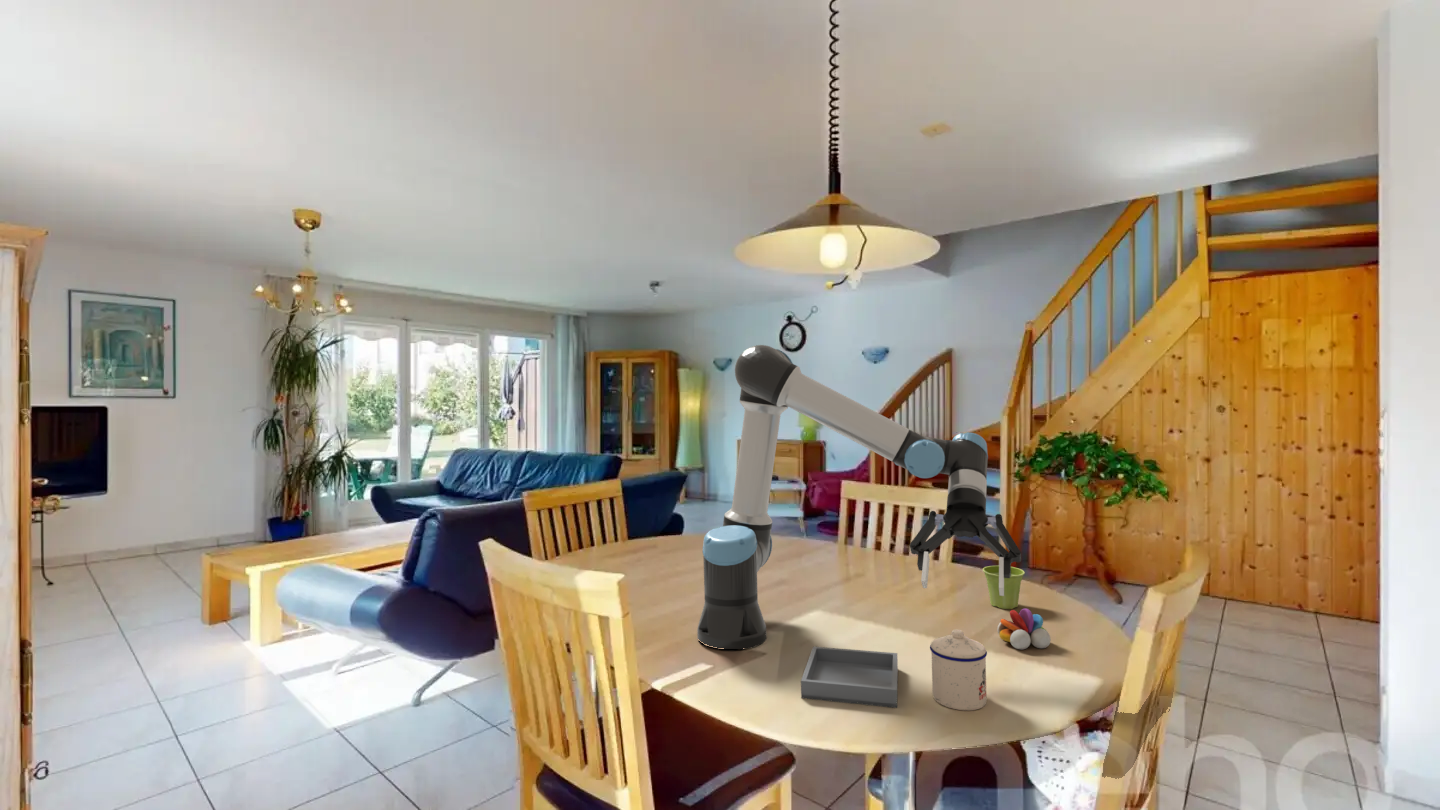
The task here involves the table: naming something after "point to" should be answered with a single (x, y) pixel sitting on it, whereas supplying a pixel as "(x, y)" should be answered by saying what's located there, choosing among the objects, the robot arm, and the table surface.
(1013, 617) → the rainbow segmented toy
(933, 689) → the teacup with lid
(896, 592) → the table surface
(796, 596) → the table surface
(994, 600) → the plant pot
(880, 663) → the tray
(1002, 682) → the table surface
